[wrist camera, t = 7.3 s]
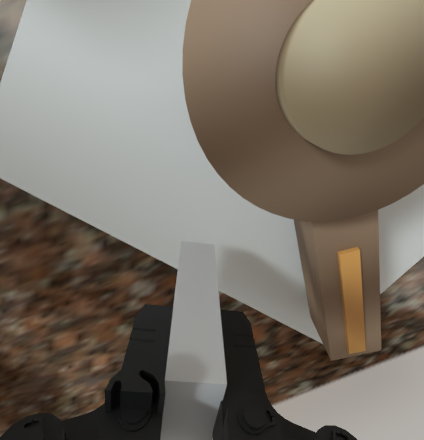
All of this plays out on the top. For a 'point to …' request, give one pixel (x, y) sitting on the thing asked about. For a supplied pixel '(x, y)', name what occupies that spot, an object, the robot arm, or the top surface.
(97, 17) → the white flat board
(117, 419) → the robot arm
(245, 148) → the brown lidded pan
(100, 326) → the top surface
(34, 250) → the top surface
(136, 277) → the top surface
